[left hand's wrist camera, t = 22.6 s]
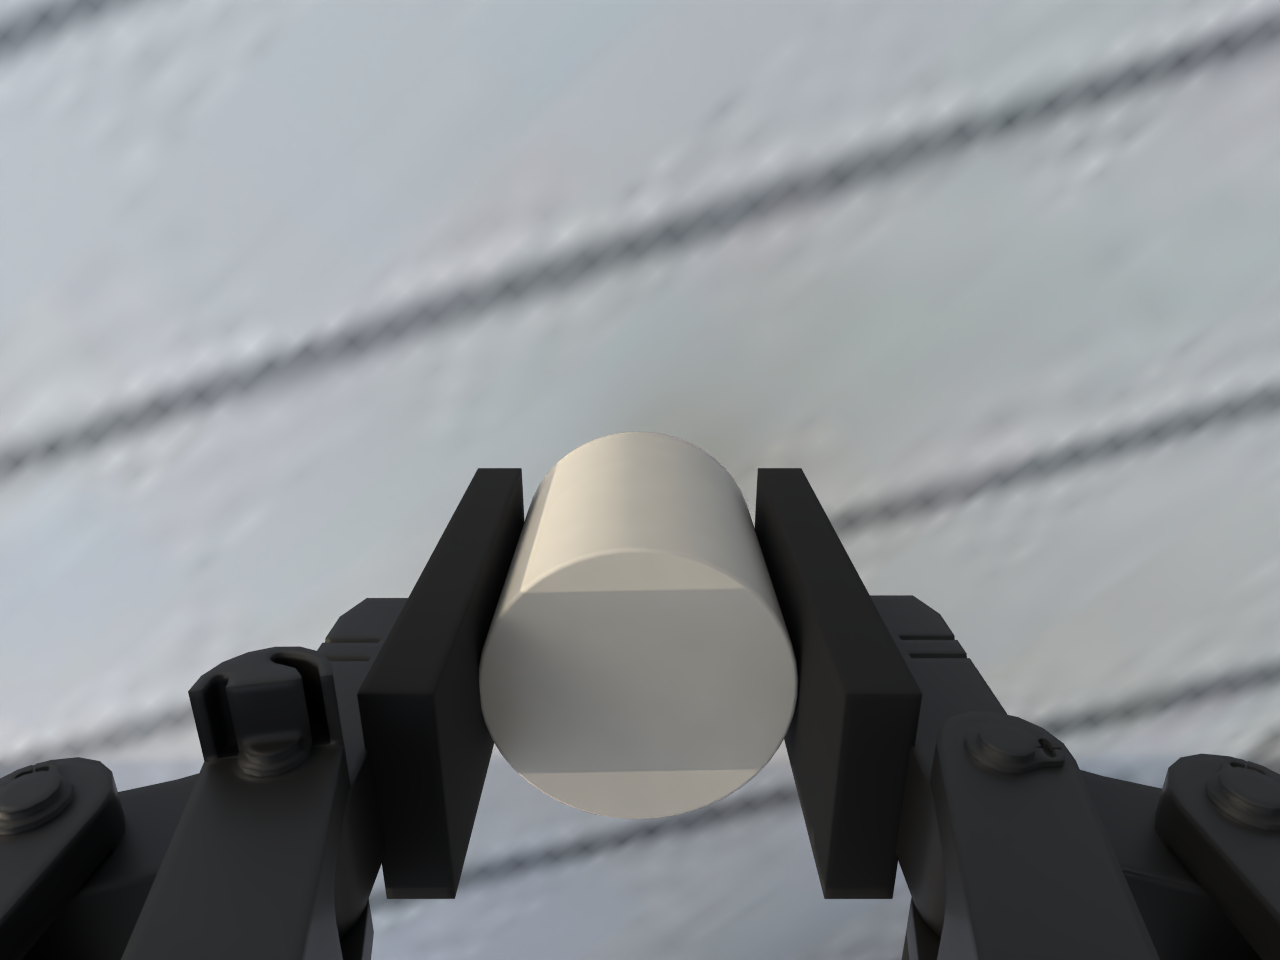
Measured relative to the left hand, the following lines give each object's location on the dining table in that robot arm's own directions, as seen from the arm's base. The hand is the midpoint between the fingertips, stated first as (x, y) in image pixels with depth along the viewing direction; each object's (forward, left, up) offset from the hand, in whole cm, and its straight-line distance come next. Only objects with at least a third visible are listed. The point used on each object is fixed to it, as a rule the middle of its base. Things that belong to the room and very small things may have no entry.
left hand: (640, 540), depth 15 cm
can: (0, 0, 0) cm, 0 cm away
